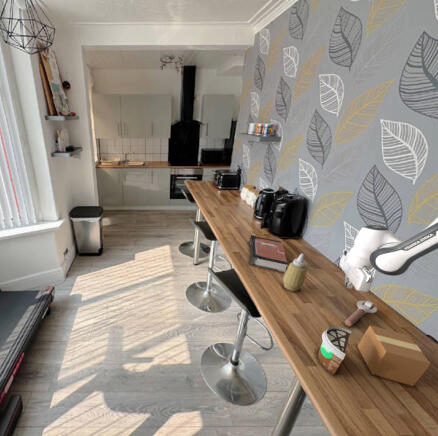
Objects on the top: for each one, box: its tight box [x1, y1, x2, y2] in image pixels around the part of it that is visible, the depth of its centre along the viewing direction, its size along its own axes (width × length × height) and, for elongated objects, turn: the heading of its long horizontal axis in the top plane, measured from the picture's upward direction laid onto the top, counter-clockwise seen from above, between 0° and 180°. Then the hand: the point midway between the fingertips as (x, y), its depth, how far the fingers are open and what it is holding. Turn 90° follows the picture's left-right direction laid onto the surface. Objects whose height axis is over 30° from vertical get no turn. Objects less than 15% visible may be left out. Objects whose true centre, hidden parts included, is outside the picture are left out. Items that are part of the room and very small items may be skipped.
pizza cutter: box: [344, 299, 378, 327], centre depth 93 cm, size 20×6×3 cm, turn 121°
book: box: [248, 234, 289, 274], centre depth 131 cm, size 26×18×5 cm
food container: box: [317, 326, 352, 375], centre depth 74 cm, size 12×6×10 cm, turn 134°
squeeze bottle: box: [282, 252, 308, 292], centre depth 104 cm, size 8×8×18 cm
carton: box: [357, 325, 432, 387], centre depth 73 cm, size 10×10×10 cm
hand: (347, 286), depth 105 cm, fingers closed
